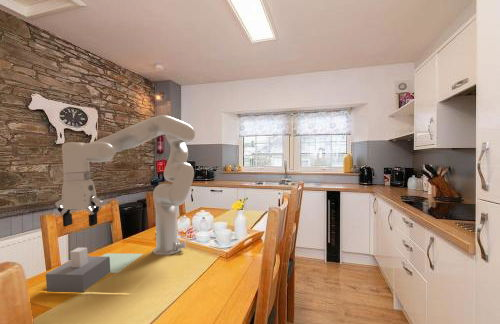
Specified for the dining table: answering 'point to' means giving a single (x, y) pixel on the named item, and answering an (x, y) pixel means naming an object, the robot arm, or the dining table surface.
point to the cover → (78, 272)
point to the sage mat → (120, 261)
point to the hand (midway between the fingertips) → (80, 225)
